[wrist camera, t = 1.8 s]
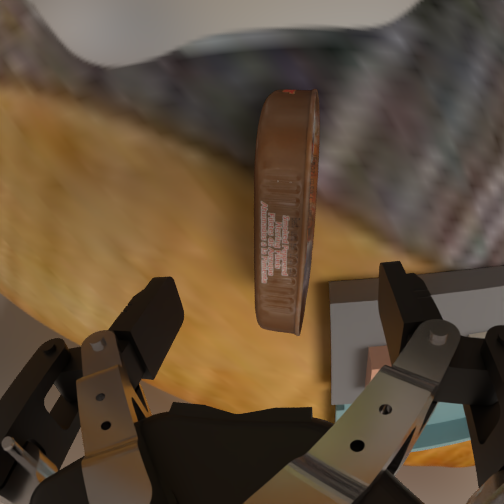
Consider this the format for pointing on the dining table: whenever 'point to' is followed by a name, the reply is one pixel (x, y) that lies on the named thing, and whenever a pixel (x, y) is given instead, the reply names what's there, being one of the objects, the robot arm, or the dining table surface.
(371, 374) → the terracotta tile
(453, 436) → the tray
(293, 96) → the tin
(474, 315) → the grey stone slab
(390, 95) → the dining table surface
